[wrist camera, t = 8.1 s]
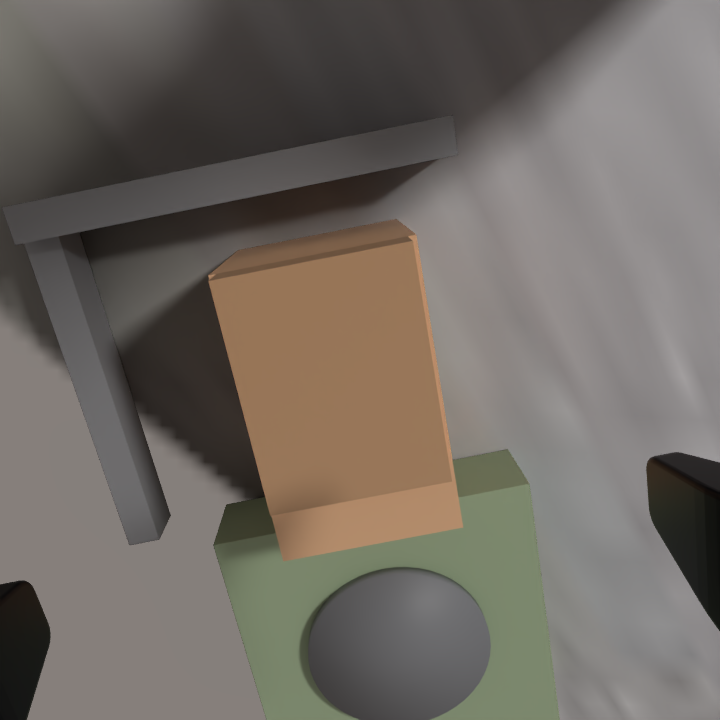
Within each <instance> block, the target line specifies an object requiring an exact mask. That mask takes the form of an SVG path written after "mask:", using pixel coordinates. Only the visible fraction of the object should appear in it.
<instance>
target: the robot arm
mask: <svg viewBox="0 0 720 720" xmlns="http://www.w3.org/2000/svg"><path fill="white" fill-rule="evenodd" d="M646 471H647V486H648V501H649V511H650V516H651V519H652V522H653V524H654V526H655V528H656V529H657V531H658V533H659V534H660V536H661V538H662V540H663V541H664V543H665V545H666V546H667V548H668V550H669V551H670V553H671V555H672V556H673V558H674V560H675V561H676V563H677V565H678V566H679V568H680V570H681V571H682V573H683V575H684V576H685V578H686V580H687V581H688V583H689V585H690V586H691V588H692V590H693V591H694V593H695V595H696V596H697V598H698V600H699V601H700V603H701V604H702V606H703V608H704V609H705V611H706V612H707V614H708V615H709V617H710V618H711V620H712V621H713V622H714V624H715V625H716V627H717V628H718V629H719V631H720V463H719V462H715V461H711V460H707V459H703V458H700V457H696V456H692V455H688V454H684V453H679V452H674V453H669V454H664V455H658V456H654V457H651V458H650V459H649V460H648V462H647V467H646ZM49 644H50V627H49V624H48V622H47V619H46V617H45V614H44V612H43V609H42V607H41V605H40V602H39V600H38V597H37V595H36V593H35V590H34V588H33V586H32V585H31V584H30V583H29V582H27V581H16V582H10V583H5V584H0V720H27V717H28V713H29V710H30V707H31V703H32V701H33V697H34V694H35V690H36V687H37V684H38V681H39V677H40V673H41V671H42V668H43V664H44V661H45V657H46V654H47V651H48V648H49Z"/></svg>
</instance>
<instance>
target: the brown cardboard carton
mask: <svg viewBox="0 0 720 720" xmlns="http://www.w3.org/2000/svg"><path fill="white" fill-rule="evenodd" d="M208 277H209V285H210V289H211V293H212V297H213V300H214V304H215V308H216V312H217V316H218V319H219V323H220V327H221V331H222V335H223V338H224V342H225V346H226V350H227V354H228V357H229V361H230V365H231V369H232V373H233V376H234V380H235V384H236V388H237V392H238V395H239V399H240V403H241V407H242V411H243V414H244V418H245V422H246V426H247V430H248V433H249V437H250V441H251V445H252V449H253V452H254V456H255V460H256V464H257V468H258V471H259V475H260V479H261V483H262V487H263V490H264V494H265V498H266V502H267V506H268V509H269V513H270V516H271V517H272V520H273V524H274V528H275V532H276V536H277V539H278V543H279V547H280V551H281V555H282V558H283V561H289V560H294V559H299V558H305V557H310V556H315V555H320V554H326V553H331V552H336V551H342V550H347V549H352V548H358V547H363V546H368V545H373V544H379V543H384V542H389V541H395V540H400V539H405V538H411V537H416V536H421V535H426V534H432V533H437V532H442V531H448V530H453V529H458V528H463V522H462V516H461V510H460V504H459V498H458V491H457V485H456V479H455V473H454V467H453V460H452V454H451V448H450V442H449V435H448V429H447V423H446V417H445V411H444V404H443V398H442V392H441V386H440V380H439V373H438V367H437V361H436V355H435V349H434V342H433V336H432V330H431V324H430V318H429V311H428V305H427V299H426V293H425V287H424V280H423V274H422V268H421V262H420V255H419V249H418V243H417V237H416V234H415V233H413V232H412V231H411V230H410V229H408V228H407V227H406V226H405V225H403V224H402V223H401V222H399V221H398V220H397V219H394V220H389V221H384V222H379V223H374V224H369V225H363V226H358V227H353V228H348V229H343V230H338V231H333V232H328V233H323V234H318V235H313V236H308V237H303V238H298V239H293V240H287V241H282V242H277V243H272V244H267V245H262V246H257V247H252V248H247V249H242V250H238V251H237V252H235V253H234V254H233V255H232V256H231V257H230V258H228V259H227V260H226V261H225V262H224V263H222V264H221V265H220V266H219V267H218V268H216V269H215V270H214V271H213V272H212V273H211V274H209V275H208Z"/></svg>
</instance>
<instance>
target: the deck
mask: <svg viewBox="0 0 720 720" xmlns="http://www.w3.org/2000/svg"><path fill="white" fill-rule="evenodd" d="M455 155H458V149H457V142H456V135H455V128H454V120H453V115H450V116H445V117H440V118H435V119H430V120H425V121H420V122H416V123H411V124H406V125H401V126H396V127H391V128H386V129H381V130H377V131H372V132H367V133H362V134H357V135H352V136H347V137H342V138H337V139H333V140H328V141H323V142H318V143H313V144H308V145H303V146H298V147H294V148H289V149H284V150H279V151H274V152H269V153H264V154H259V155H255V156H250V157H245V158H240V159H235V160H230V161H225V162H220V163H216V164H211V165H206V166H201V167H196V168H191V169H186V170H181V171H176V172H172V173H167V174H162V175H157V176H152V177H147V178H142V179H137V180H133V181H128V182H123V183H118V184H113V185H108V186H103V187H98V188H94V189H89V190H84V191H79V192H74V193H69V194H64V195H59V196H55V197H50V198H45V199H40V200H35V201H30V202H25V203H20V204H16V205H11V206H6V207H2V210H3V212H4V215H5V218H6V221H7V224H8V227H9V229H10V232H11V235H12V238H13V241H14V243H15V245H19V244H23V243H24V245H25V248H26V251H27V254H28V257H29V260H30V263H31V265H32V268H33V271H34V274H35V277H36V280H37V282H38V285H39V288H40V291H41V294H42V297H43V300H44V302H45V305H46V308H47V311H48V314H49V317H50V320H51V322H52V325H53V328H54V331H55V334H56V337H57V340H58V342H59V345H60V348H61V351H62V354H63V357H64V360H65V362H66V365H67V368H68V371H69V374H70V377H71V380H72V382H73V385H74V388H75V391H76V394H77V396H78V400H79V402H80V405H81V408H82V411H83V414H84V417H85V419H86V422H87V425H88V428H89V431H90V434H91V437H92V440H93V442H94V445H95V448H96V451H97V454H98V457H99V460H100V462H101V465H102V468H103V471H104V474H105V476H106V480H107V482H108V485H109V488H110V491H111V494H112V497H113V499H114V502H115V505H116V508H117V511H118V514H119V517H120V520H121V522H122V525H123V528H124V531H125V534H126V537H127V539H128V542H129V545H134V544H139V543H144V542H149V541H154V540H159V539H160V537H161V535H162V533H163V530H164V528H165V526H166V524H167V522H168V520H169V518H170V516H171V515H170V512H169V509H168V506H167V503H166V500H165V497H164V494H163V491H162V487H161V484H160V481H159V478H158V475H157V472H156V469H155V466H154V463H153V459H152V457H151V453H150V450H149V447H148V444H147V441H146V438H145V435H144V432H143V428H142V425H141V422H140V419H139V416H138V413H137V410H136V407H135V404H134V401H133V397H132V394H131V391H130V388H129V385H128V382H127V379H126V376H125V373H124V370H123V366H122V363H121V360H120V357H119V354H118V351H117V348H116V345H115V342H114V339H113V335H112V332H111V329H110V326H109V323H108V320H107V317H106V314H105V311H104V308H103V304H102V301H101V298H100V295H99V292H98V289H97V286H96V283H95V280H94V277H93V273H92V270H91V267H90V264H89V261H88V258H87V255H86V252H85V249H84V246H83V242H82V239H81V236H80V233H79V232H82V231H87V230H92V229H97V228H102V227H107V226H112V225H117V224H122V223H126V222H131V221H136V220H141V219H146V218H151V217H156V216H161V215H166V214H171V213H175V212H180V211H185V210H190V209H195V208H200V207H205V206H210V205H215V204H220V203H225V202H229V201H234V200H239V199H244V198H249V197H254V196H259V195H264V194H269V193H274V192H278V191H283V190H288V189H293V188H298V187H303V186H308V185H313V184H318V183H323V182H328V181H332V180H337V179H342V178H347V177H352V176H357V175H362V174H367V173H372V172H377V171H381V170H386V169H391V168H396V167H401V166H406V165H411V164H416V163H421V162H426V161H430V160H435V159H440V158H445V157H450V156H455ZM453 467H454V473H455V479H456V485H457V491H458V498H459V504H460V510H461V516H462V522H463V528H458V529H453V530H448V531H442V532H437V533H432V534H426V535H421V536H416V537H411V538H405V539H400V540H395V541H389V542H384V543H379V544H373V545H368V546H363V547H358V548H352V549H347V550H342V551H336V552H331V553H326V554H320V555H315V556H310V557H305V558H299V559H294V560H289V561H283V558H282V555H281V551H280V547H279V543H278V539H277V536H276V532H275V528H274V524H273V520H272V517H271V516H270V513H269V509H268V506H267V502H266V498H265V497H262V498H257V499H252V500H247V501H242V502H237V503H232V504H227V505H226V507H225V510H224V514H223V517H222V520H221V523H220V526H219V530H218V533H217V536H216V539H215V542H214V549H215V552H216V555H217V559H218V562H219V565H220V569H221V572H222V575H223V578H224V582H225V585H226V588H227V592H228V595H229V598H230V601H231V605H232V608H233V611H234V614H235V618H236V621H237V624H238V628H239V631H240V634H241V638H242V641H243V644H244V647H245V651H246V654H247V657H248V660H249V664H250V667H251V670H252V674H253V677H254V680H255V683H256V687H257V690H258V693H259V696H260V699H261V703H262V706H263V710H264V713H265V716H266V719H267V720H560V719H559V711H558V703H557V695H556V687H555V680H554V672H553V664H552V656H551V649H550V641H549V633H548V625H547V617H546V610H545V602H544V594H543V586H542V578H541V571H540V563H539V555H538V547H537V539H536V532H535V524H534V516H533V508H532V500H531V493H530V485H529V482H528V481H527V479H526V478H525V476H524V474H523V473H522V471H521V470H520V468H519V466H518V465H517V463H516V462H515V460H514V458H513V457H512V455H511V454H510V452H509V450H502V451H497V452H492V453H487V454H482V455H477V456H472V457H467V458H462V459H457V460H453Z"/></svg>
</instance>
